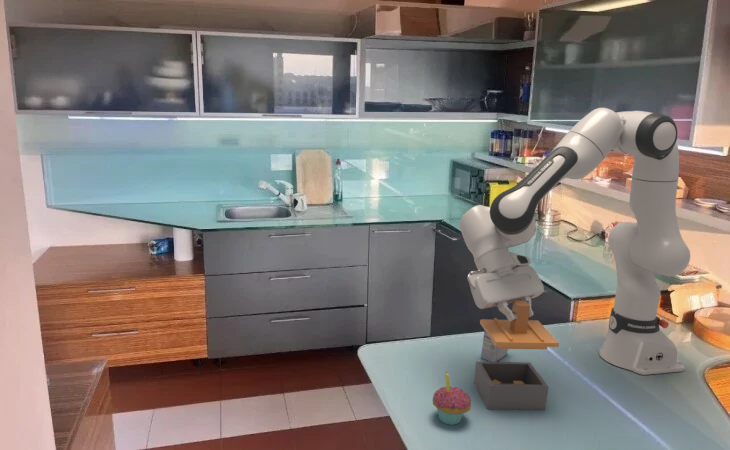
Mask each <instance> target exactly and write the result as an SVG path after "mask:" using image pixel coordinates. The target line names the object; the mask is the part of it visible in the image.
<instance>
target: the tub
mask: <svg viewBox="0 0 730 450" xmlns="http://www.w3.org/2000/svg"><path fill="white" fill-rule="evenodd" d="M473 379H474V380H473V384H474V386H475V388H476V390H477V392H478V393H479V396H480V398H481V399H482V402H483V403H484V405H485V406H486V409H487V410H524V411H525V410H529V411H530V410H531V411H532V410H534V411H535V410H536V411H539V410H540V411H541V410H543V411H545V410H546V406H547V401H548V395H549V394H548V393H549V385H548V384H547V383H546V382H545V380H544V378H543V377H542V376H541V374H539V372H538V371H537V369H536V368H535V367H534V365H533V364H532V363H531V362H528V361H527V362H525V361H524V362H522V361H521V362H518V361H514V362H513V361H512V362H511V361H497V362H490V361H476V363H475V369H474V378H473Z"/></svg>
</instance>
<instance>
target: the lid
mask: <svg viewBox="0 0 730 450" xmlns="http://www.w3.org/2000/svg"><path fill="white" fill-rule="evenodd" d="M511 308H512V309H511V311H512V312H515V313H516V316H517V319H516V320H515V321H511V322H509V321H508V319H498V318H497V317H494V319H485V318H482V319H480V320H479V323H480V326H481V328H483V330H484V331H486V333H487V334H488V336H489V337H490V339H491V340H492V342H493V343H494V345H495V346H499V348H500V349H508V350H548V348H559V345H560V342H559V341H558V340H557V339H556V338H555V337H554V336H553V335H552V333H550V332H549V330H548V329H546V327H545V326H544V325H543V324H542V323H541V322H540V320H536V319H533V320H532V319H529V318H530V317H529V310H530V305H529V304H528V303H527V302H526V301H513V302H512V307H511Z"/></svg>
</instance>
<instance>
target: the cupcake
mask: <svg viewBox="0 0 730 450" xmlns="http://www.w3.org/2000/svg"><path fill="white" fill-rule="evenodd" d="M449 376H450V375H449V373H448V371H447V370H446V371H445V384H446V385H445V386H444V387H440V388H439V389H437V390H436V391H435V392H434V393H433V396H432V405H433V406H434V407H435V408H436V410H437V413H438V414H437V415H438V418H439V420H440V421H441V422H442V423H444V424H447V425H449V426H451V425H452V426H453V425H457V424H459V423H460V422H461V420H462V418H463V416H464V414H466V413H467V412H469V411H471V407H472V401H471V397H470V396H469V394H468V393H467V392H466V391H464V390H463V389H462V388H459V387H454V386H450V377H449Z"/></svg>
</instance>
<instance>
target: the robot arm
mask: <svg viewBox="0 0 730 450" xmlns="http://www.w3.org/2000/svg"><path fill="white" fill-rule="evenodd" d="M677 139H678V127H677V124H676V121H674V119H673V118H672V117H670V116H668V115H666V114H663V113H660V112H650V111H644V110H643V111H642V110H632V111H631V110H629V111H626V110H625V111H622V110H612V109H610V108H607V107H598V108H595V109H593V110H592V111H590V112H588V113H587V114H586V115H585V116H583V117H582V118H581V119H580V120H579V121H578V122H577V123H575V124H574V126H572V127H571V129H570V130H569V131H568V132H567V133H566V134H565V135H564V136H563V137H562V139H561V140H560V141H559V142H558V143H557V144H556V145H555V146H554V148H553V149H552V151H550V153H548V155H547V156H546V157H544V158H543V159H542V160H541V162H539V163H537V165H536V166H535V167H534V168H533V169H532V170H531V171H530V172H529V173H528V174H527V175H526V176H525V177H524V178H522V180H521V181H519V182H518V183H517V184H516V185H514V186H512V187H511V188H509V189H507V190H505V191H504V190H503V192H501V193H499V194H497V196H496V197H494V199H493V201H492V202H491V205H490V206H485V205H482V204H478V205H477V204H476V205H474V206H472V207H470V208H469V209H467V210H466V211H465V212H464V213H463V214H462V216H461V217H460V221H459V228H460V233H461V236H462V239H463V241H464V243H465V245H466V247H467V249H468V250H469V251H470V253H471V254H472V256H473V260H474V264H475V266H476V269H477V270H471V271H469V273H468V274H467V277H466V279H467V281H468V283H469V288H470V291H471V295H472V298H473V300H474V303H475V305H476V306H477V308H479V309H480V310H484V309H488V308H493V307H494V308H495V307H497V309H498V311H499V312H501V313H502V314H503V315H504V316H505V317H506V320H508V321H509V322H511V321H515V320H516V319H517V316H516V313H515V312H512V309H511V308H510V307H509V304H510V303H511V304H513V301H526V302H527V303H528V304H529V305H530V310H529V318H531V317H533V316H534V311H533V309H532V299H534V298H537V297H539V296H540V295H542V294H543V293H544V291H545V286H544V284H543V282H542V279H541V278H540V277H539V274H538V273H537V271H536V270H535V268H534V267H533V266H531V265H530V264H531V263H532V261H531V260H530V258H529V256H527V255H523V254H519V253H514V252H513V251H512V252H511V251H510V250H509V248H513V247H517V246H519V245H522V244H525V243H528V242H529V241H530V240H531V239H533V237H534V235H535V233H536V229H537V224H536V217H535V214H536V210H537V207H538V205H539V203H541V201H542V200H543V199H544V198H545V197H546V196H547V195H548V194H549V193H550V192H551V191H552V189H553V188H555V187H556V186H557V185H558V184H559V183H560V182H561V181H562V180H564V179H569V180H580V179H584V178H585V177H587V176H588V175H589V174H590V173H592V172H593V171H595V169H596V168H597V167H598V166H600V164H601V163H602V162H603V161H604V160H605V159H606V157H607V156H608V155H609V154H610V152H611V151H612V152H616V153H619V154H624V155H632V156H633V159H634V161H633V169H632V175H631V183H630V191H629V192H630V193H629V207H630V210H631V211H632V213H633V214H634V217H635V220H636V222H632V221H621V222H618V223H617V224H616V225H615V226H613V227H612V229H611V230H610V232H609V234H608V245H609V247H610V249H611V251H612V254H613V257H614V263H615V269H616V290H615V295H614V303H613V307H612V308H611V310H610V315H609V321H608V330H607V334H606V337H605V339H604V342H603V344H602V346H601V348H600V349H599V352H598V353H599V354H598V355H599V356H600V357H601V358H602V359H603V360H604V361H606V362H607V363H609V364H612V365H614V366H616V367H619V368H621V369H625V370H629V371H631V372H634V373H636V374H639V375H642V376H646V375H647V376H648V375H657V374H666V373H668V374H669V373H677V372H678V373H679V372H684V371H685V365H684V363H683V361H681V360H680V359H679V358H678V349H677V348H678V347H677V346H676V344H675V343H674V342H673V341H672V339H670V338H669V337H668V336H667V335H666V334H665V332H664V331H662V330H661V328H660V327H662V328H663V329H668V327H669V325H670V323H669V321H666V320H665V319H661V318H660V317H659V316H657V314H658V313H657V312H658V308H659V303H660V298H661V289H660V286H659V284H658V283H657V279H656V277H655V275H660V276H665V277H676V276H679V275H680V274H682V273H683V272H684V271H685V270H686V269H687V267H688V266H689V263H690V260H691V251H690V249H689V247H688V245H687V244H686V242H685V241H684V239H683V237H682V235H681V232H680V227H679V224H678V219H677V210H676V209H677V208H676V205H677V192H678V184H679V174H680V153H679V152H680V151H679V146H678V144H677V141H678V140H677Z"/></svg>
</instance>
